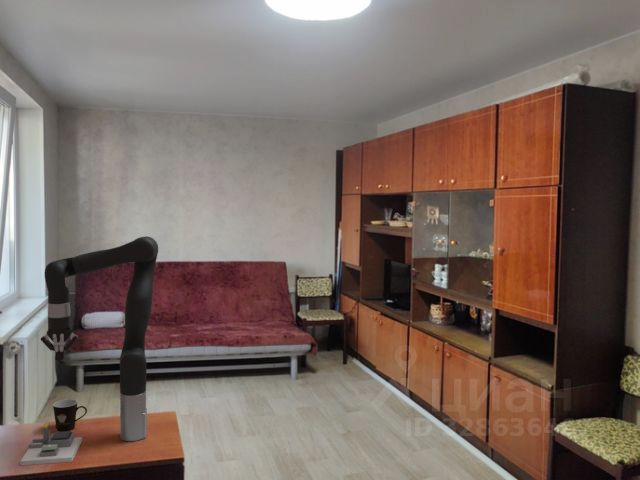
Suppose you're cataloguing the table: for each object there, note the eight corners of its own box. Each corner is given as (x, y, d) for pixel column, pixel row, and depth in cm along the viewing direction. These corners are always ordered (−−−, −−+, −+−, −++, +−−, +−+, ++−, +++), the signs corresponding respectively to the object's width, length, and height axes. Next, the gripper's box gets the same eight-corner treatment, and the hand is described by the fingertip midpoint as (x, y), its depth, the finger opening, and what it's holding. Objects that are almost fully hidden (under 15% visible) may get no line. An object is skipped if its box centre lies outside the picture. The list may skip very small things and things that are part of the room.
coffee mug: (48, 430, 211) (47, 405, 211) (66, 422, 219) (65, 397, 219) (71, 436, 207) (71, 410, 206) (88, 427, 215) (88, 402, 214)
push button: (70, 438, 201) (70, 430, 201) (67, 445, 196) (67, 437, 196) (55, 440, 200) (55, 431, 200) (51, 446, 195) (51, 438, 195)
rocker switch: (57, 447, 191) (57, 443, 191) (55, 449, 189) (55, 446, 189) (43, 448, 190) (43, 444, 190) (41, 450, 188) (41, 447, 188)
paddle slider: (50, 440, 199) (50, 422, 198) (48, 445, 195) (47, 426, 195) (44, 441, 198) (44, 422, 198) (42, 445, 195) (41, 426, 194)
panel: (81, 441, 203) (81, 430, 203) (72, 461, 188) (71, 450, 187) (34, 444, 200) (34, 433, 199) (20, 465, 184) (20, 454, 184)
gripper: (36, 317, 198) (37, 365, 199) (76, 316, 200) (77, 363, 202) (42, 313, 205) (43, 359, 206) (80, 312, 208) (81, 357, 209)
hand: (60, 360), depth 204 cm, fingers closed
